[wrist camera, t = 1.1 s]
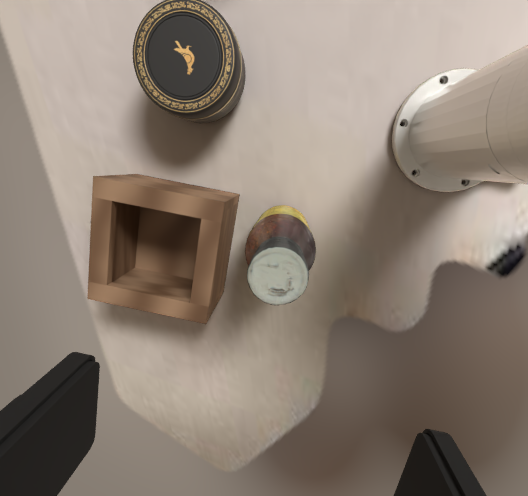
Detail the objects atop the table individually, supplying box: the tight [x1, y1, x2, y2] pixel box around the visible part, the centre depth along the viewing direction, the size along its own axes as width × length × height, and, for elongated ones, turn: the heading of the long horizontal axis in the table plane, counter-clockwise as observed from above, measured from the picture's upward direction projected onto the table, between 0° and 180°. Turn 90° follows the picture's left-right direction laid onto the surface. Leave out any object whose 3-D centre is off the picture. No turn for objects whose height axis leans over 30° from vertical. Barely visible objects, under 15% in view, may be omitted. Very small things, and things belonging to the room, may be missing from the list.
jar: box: [133, 0, 245, 123], centre depth 33 cm, size 10×10×8 cm
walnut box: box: [88, 174, 240, 324], centre depth 37 cm, size 13×13×9 cm
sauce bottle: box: [245, 205, 316, 305], centre depth 30 cm, size 7×6×20 cm
